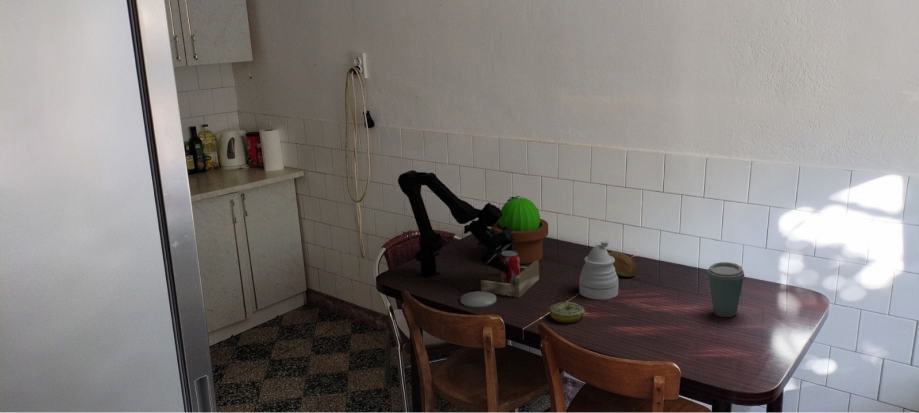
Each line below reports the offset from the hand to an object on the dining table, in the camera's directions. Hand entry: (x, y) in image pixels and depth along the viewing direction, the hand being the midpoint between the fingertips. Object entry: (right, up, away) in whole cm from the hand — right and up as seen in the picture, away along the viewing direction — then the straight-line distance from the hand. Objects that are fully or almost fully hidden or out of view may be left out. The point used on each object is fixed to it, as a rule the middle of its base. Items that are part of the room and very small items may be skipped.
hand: (513, 268), depth 242 cm
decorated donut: (+15, -13, -26) cm, 32 cm away
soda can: (-1, -7, +2) cm, 7 cm away
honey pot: (+28, -8, -7) cm, 30 cm away
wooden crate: (-1, -6, +2) cm, 7 cm away
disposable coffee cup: (+62, -12, -28) cm, 69 cm away
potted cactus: (+5, +1, +30) cm, 31 cm away
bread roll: (+38, -3, +8) cm, 39 cm away
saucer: (-13, -10, -9) cm, 19 cm away
